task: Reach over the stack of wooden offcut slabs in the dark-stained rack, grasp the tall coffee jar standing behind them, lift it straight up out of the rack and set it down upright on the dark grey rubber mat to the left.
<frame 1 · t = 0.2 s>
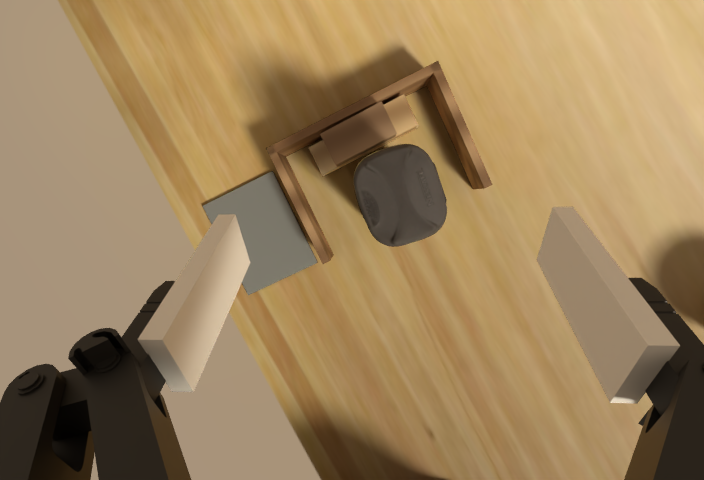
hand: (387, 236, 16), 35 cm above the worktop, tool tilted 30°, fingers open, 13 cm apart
offcut bottom: (363, 139, 50), on the worktop, touching offcut middle
offcut middle: (370, 133, 48), point 2 cm above the worktop, touching offcut bottom, offcut top
offcut top: (358, 137, 45), point 4 cm above the worktop, touching offcut middle
coffee jar: (389, 196, 50), on the worktop
rack: (377, 169, 50), on the worktop
mat: (260, 234, 52), on the worktop
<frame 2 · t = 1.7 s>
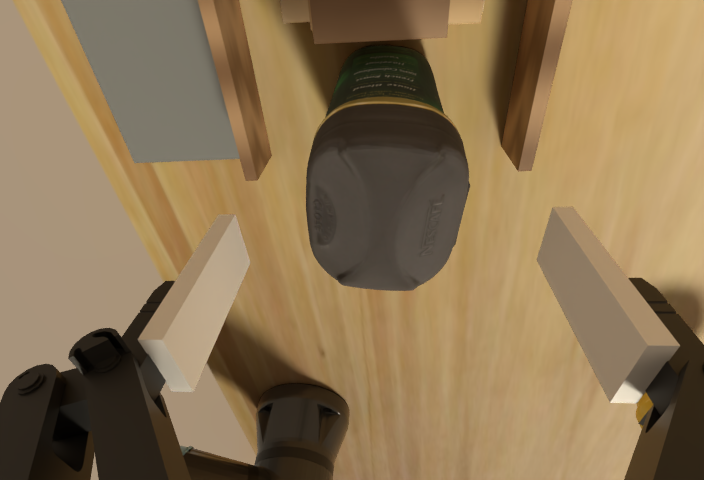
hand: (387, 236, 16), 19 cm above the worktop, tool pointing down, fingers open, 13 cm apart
coffee jar: (382, 106, 32), on the worktop
rack: (381, 55, 29), on the worktop
mat: (163, 82, 31), on the worktop
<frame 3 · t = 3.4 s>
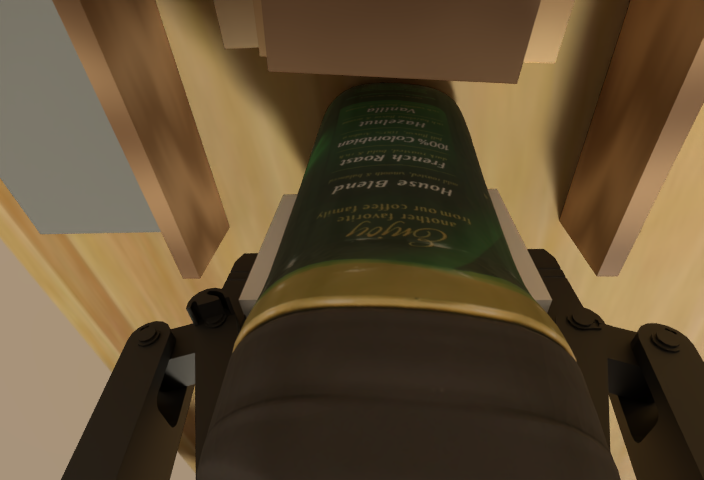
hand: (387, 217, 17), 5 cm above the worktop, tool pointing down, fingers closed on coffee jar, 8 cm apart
coffee jar: (386, 165, 21), on the worktop, touching gripper
rack: (385, 95, 19), on the worktop
mat: (62, 130, 21), on the worktop
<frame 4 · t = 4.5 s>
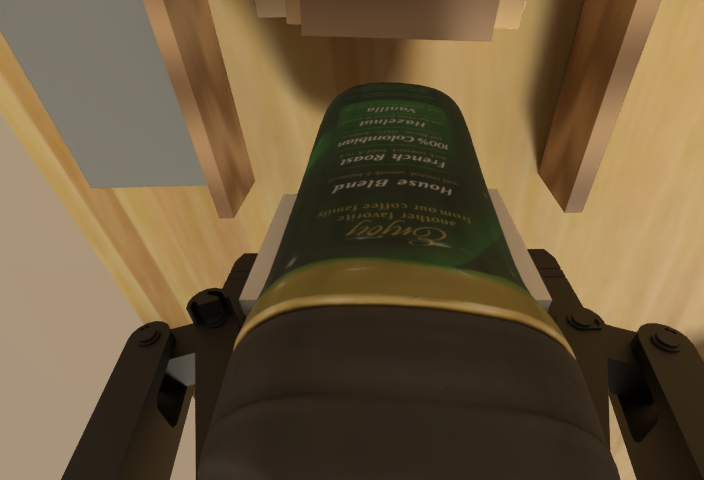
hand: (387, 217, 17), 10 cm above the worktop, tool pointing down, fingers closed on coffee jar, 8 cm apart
coffee jar: (386, 165, 21), point 5 cm above the worktop, touching gripper
rack: (390, 61, 23), on the worktop
mat: (117, 93, 25), on the worktop
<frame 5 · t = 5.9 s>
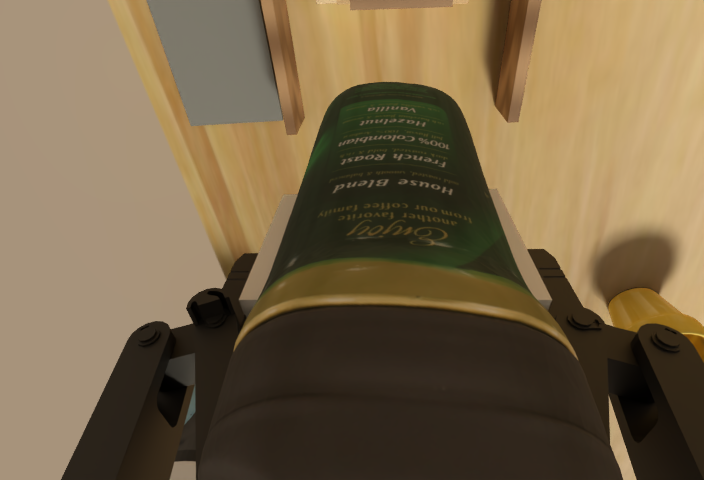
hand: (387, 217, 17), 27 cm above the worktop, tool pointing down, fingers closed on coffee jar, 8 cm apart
plant pot: (630, 301, 56), on the worktop
coffee jar: (387, 164, 21), point 22 cm above the worktop, touching gripper
rack: (396, 30, 36), on the worktop
mat: (219, 56, 39), on the worktop
when the fingers open (7 cm above the worktop, at t = 10.4 s): coffee jar drops 1 cm, resting on mat.
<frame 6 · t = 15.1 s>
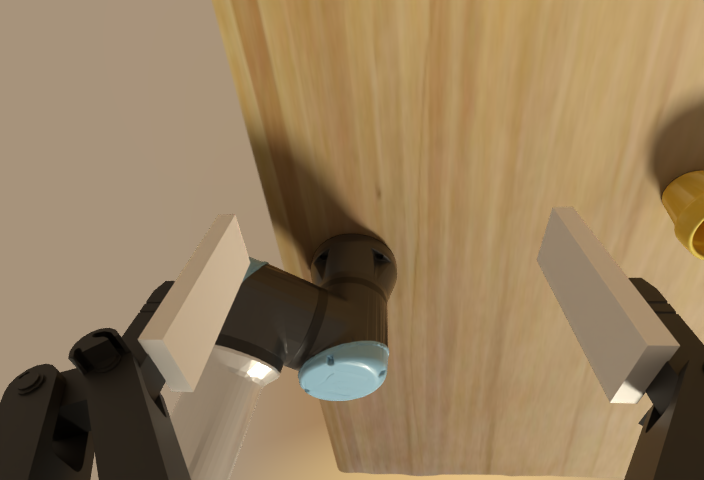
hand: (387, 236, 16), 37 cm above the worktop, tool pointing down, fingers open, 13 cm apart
plant pot: (685, 190, 53), on the worktop
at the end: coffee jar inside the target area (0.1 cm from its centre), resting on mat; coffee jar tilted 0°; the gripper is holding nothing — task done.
